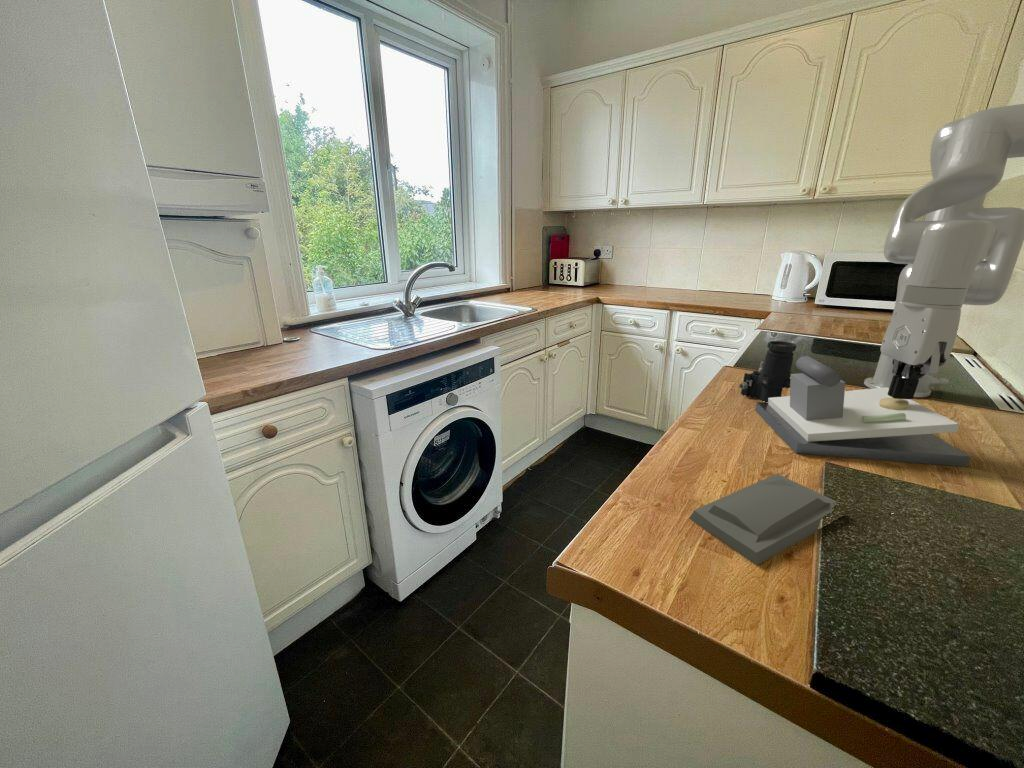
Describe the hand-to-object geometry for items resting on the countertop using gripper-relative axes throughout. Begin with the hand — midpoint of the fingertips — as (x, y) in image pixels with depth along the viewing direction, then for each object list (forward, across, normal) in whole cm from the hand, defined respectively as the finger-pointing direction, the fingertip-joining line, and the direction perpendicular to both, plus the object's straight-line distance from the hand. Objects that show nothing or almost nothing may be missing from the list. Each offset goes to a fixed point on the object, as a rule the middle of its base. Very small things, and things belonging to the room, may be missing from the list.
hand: (899, 397), depth 76 cm
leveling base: (+8, 0, -7) cm, 11 cm away
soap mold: (+10, +30, -32) cm, 45 cm away
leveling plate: (+5, 0, -7) cm, 8 cm away
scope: (+9, -18, -15) cm, 25 cm away
